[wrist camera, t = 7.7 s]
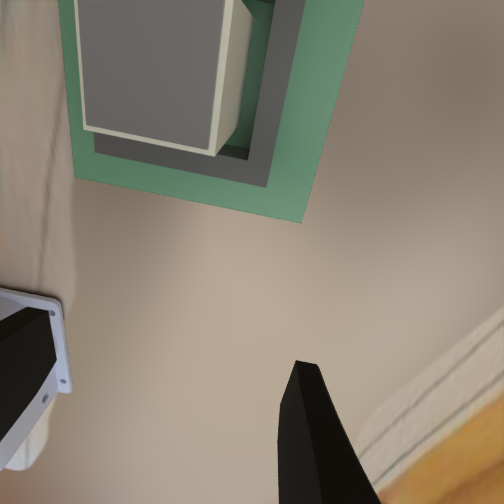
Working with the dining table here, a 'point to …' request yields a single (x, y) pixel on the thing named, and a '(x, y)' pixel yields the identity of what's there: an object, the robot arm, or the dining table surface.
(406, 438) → the dining table surface
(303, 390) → the robot arm
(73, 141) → the header socket
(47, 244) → the dining table surface
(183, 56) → the plug
